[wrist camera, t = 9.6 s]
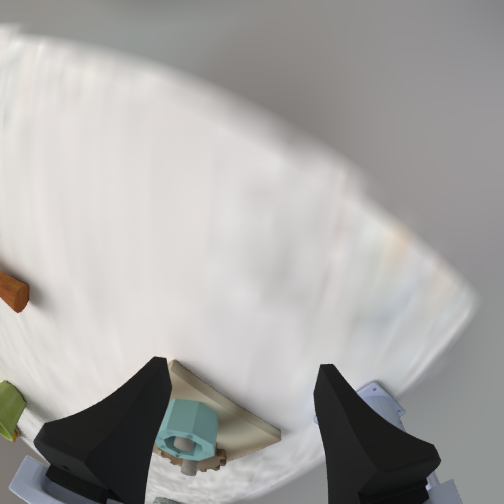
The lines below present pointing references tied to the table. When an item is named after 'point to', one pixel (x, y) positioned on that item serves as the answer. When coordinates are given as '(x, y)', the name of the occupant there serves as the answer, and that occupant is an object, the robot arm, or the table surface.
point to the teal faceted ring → (189, 429)
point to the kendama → (13, 292)
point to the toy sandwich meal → (16, 434)
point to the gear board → (229, 425)
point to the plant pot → (10, 409)
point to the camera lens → (163, 501)
